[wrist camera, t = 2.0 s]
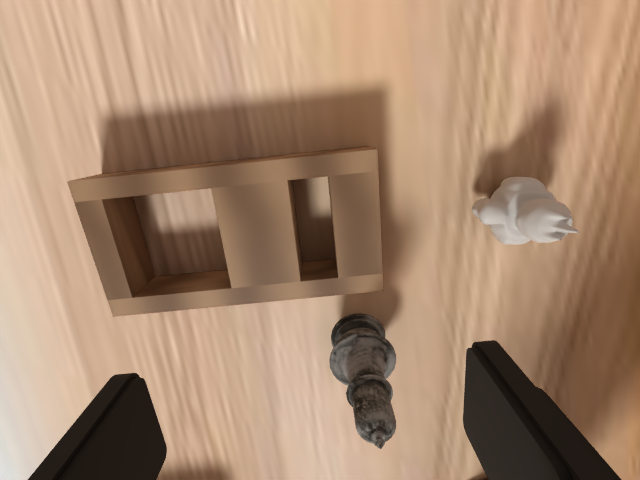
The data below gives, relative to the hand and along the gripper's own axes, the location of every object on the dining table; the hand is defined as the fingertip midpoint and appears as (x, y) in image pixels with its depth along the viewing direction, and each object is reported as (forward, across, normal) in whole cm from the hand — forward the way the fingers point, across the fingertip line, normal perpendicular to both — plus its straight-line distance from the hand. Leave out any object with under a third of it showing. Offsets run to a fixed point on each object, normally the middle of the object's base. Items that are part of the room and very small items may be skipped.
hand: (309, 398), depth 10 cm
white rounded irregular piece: (+21, -16, 0) cm, 26 cm away
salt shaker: (+20, -3, +12) cm, 24 cm away
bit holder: (+20, +6, 0) cm, 21 cm away
